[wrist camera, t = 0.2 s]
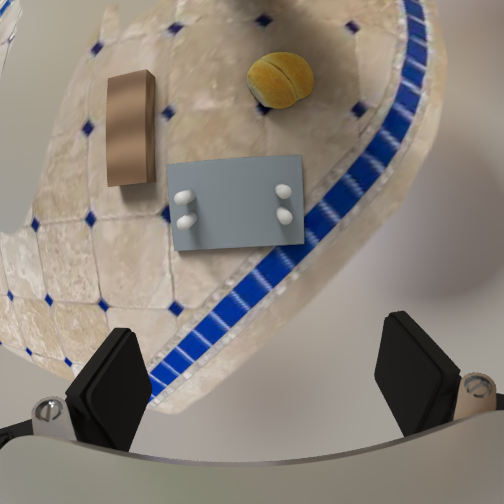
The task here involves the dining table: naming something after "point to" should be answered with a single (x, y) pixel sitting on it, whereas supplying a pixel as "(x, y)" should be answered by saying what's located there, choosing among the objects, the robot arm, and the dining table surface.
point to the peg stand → (236, 202)
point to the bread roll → (280, 79)
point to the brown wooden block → (130, 129)
